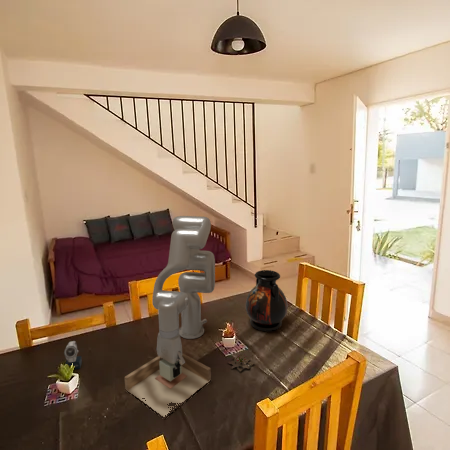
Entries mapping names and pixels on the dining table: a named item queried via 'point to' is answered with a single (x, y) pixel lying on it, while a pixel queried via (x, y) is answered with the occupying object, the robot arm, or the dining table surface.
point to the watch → (72, 355)
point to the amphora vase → (266, 302)
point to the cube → (167, 369)
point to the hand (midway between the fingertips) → (170, 371)
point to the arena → (166, 384)
